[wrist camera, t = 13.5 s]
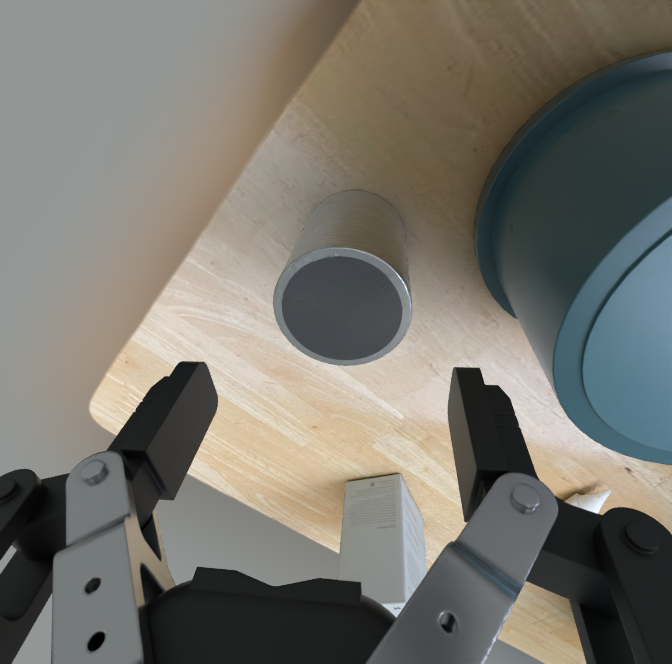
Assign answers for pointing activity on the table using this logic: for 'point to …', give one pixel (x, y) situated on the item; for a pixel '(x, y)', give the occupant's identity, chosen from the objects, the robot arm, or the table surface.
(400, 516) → the small box
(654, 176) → the blue flanged cylinder
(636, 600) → the robot arm
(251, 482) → the table surface
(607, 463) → the table surface
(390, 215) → the cup
